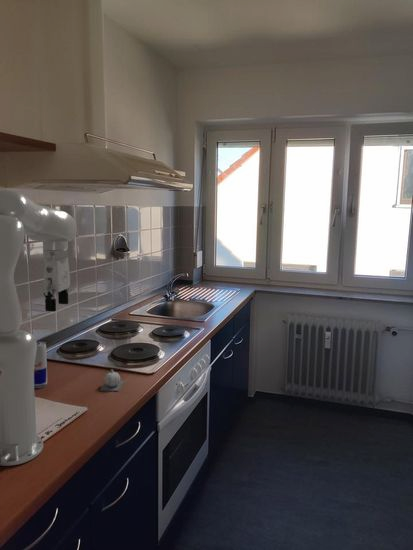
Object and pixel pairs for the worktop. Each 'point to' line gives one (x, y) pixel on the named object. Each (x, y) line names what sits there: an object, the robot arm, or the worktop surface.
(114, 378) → the garlic
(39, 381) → the white bottle
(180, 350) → the worktop surface
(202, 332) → the worktop surface
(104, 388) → the coaster
